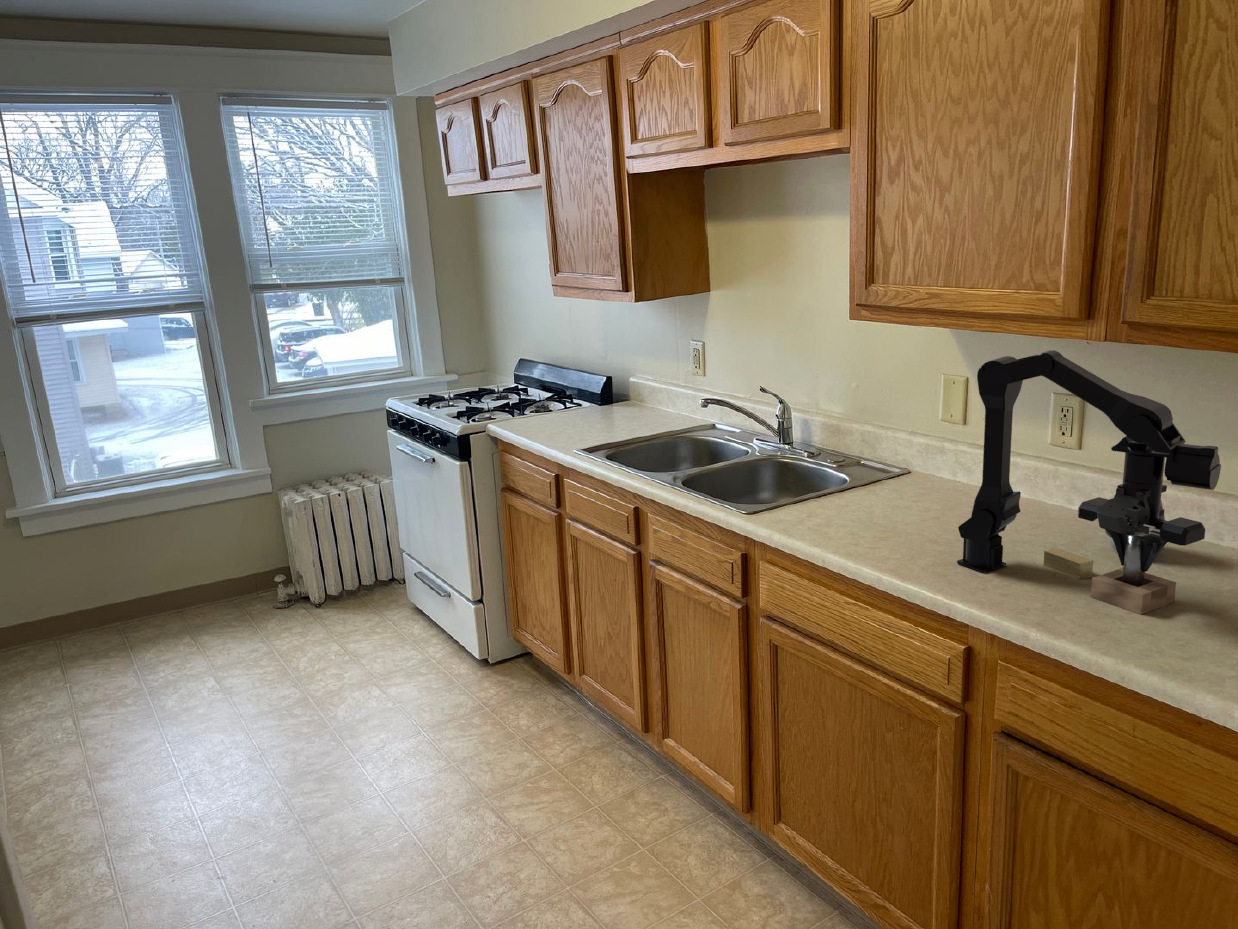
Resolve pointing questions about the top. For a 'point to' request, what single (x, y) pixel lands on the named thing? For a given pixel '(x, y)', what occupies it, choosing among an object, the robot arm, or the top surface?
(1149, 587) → the socket block
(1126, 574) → the cylinder
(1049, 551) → the square bit
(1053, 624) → the top surface
